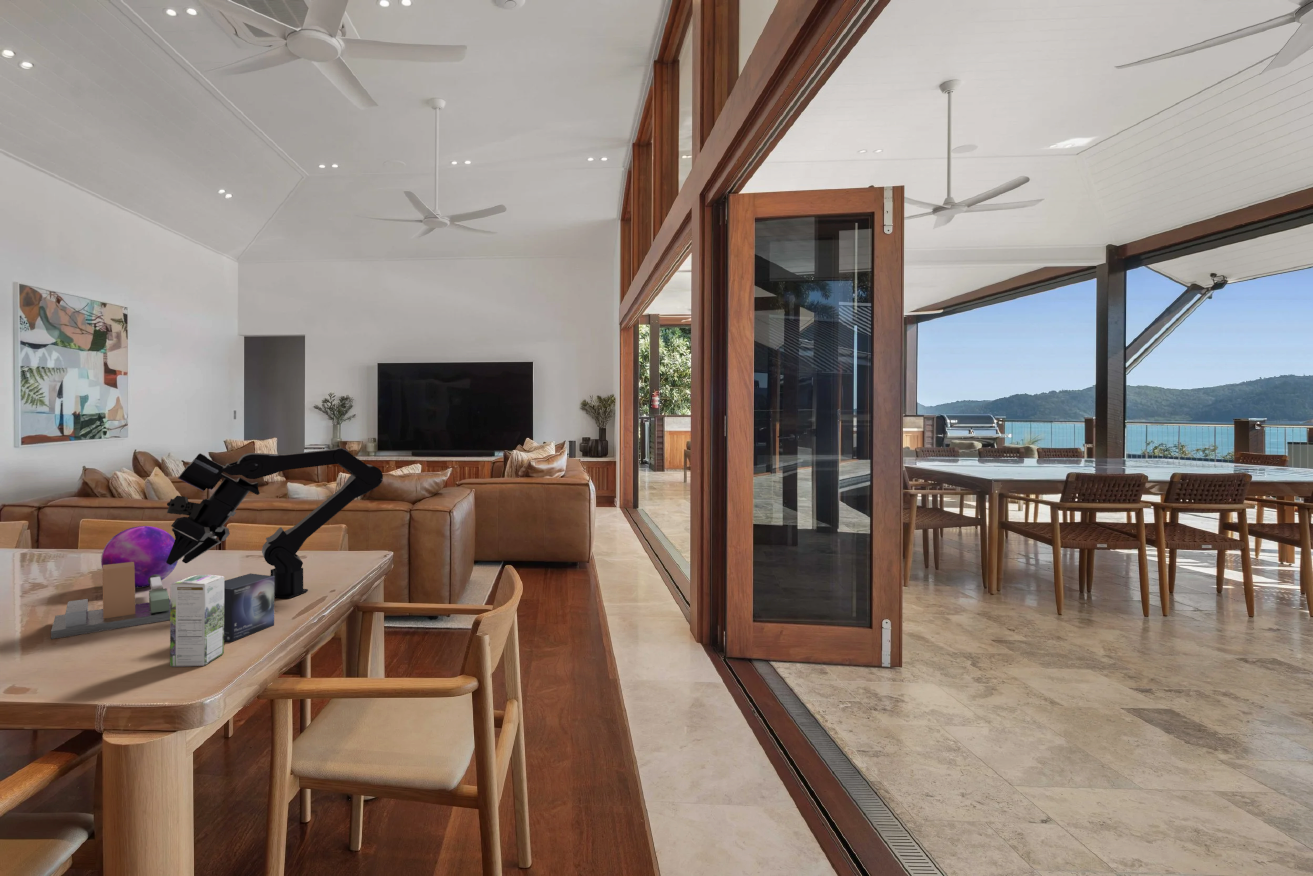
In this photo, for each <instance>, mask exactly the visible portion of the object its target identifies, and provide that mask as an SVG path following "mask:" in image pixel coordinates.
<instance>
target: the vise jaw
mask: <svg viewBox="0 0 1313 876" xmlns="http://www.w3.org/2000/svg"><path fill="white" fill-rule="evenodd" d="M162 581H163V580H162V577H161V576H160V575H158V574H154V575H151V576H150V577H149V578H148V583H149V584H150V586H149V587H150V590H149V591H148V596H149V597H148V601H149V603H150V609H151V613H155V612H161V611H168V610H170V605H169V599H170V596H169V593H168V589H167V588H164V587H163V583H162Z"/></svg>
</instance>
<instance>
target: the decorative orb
mask: <svg viewBox="0 0 1313 876" xmlns="http://www.w3.org/2000/svg"><path fill="white" fill-rule="evenodd" d="M174 541H175V537H173V535H171V534H170V533H169V532H167V531H166V530H164V529H162V528H159V527H156V526H149V525H139V526H138V525H137V526H134V527H133V526H132V527H130V528H127V529H124V530H122V531H120V532H118V533H117V534H115V535H114V536H112V538H111V539H110V540H108V541H107V543H106V545H105V547H103V549H102V553H101V556H100V557H101V558H100V559H101V560H100V563H101V567H102V568H103V565H108V564H118V563H127V562H134V566H135V589H136V588H145V587H151V586H150V584H149V583H148V578H149V577H150V576H151V575H154V574H158V575H160V576H161V577H162V581H163V580H164V579H166V578H168V576H169V575H171V573H172V572H173V571H174V570H175V568H176V566H177V565H178V561H179V560H178V561H176V562H175V563H174V564H172V565H169V564H167V563H166V561H167V559H168V556H169V554H170V552H171V549H172V547H173V544H174Z"/></svg>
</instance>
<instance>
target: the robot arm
mask: <svg viewBox="0 0 1313 876" xmlns="http://www.w3.org/2000/svg"><path fill="white" fill-rule="evenodd" d="M190 462H191V463H188V464H187V465H186V467H185V468H184V469H183V471H181V473H180V474H179V476H177V479H178V480H180V481H182V482H184V483H186V484H188V485H190V486H192V487H194V488H196V489H198V490H199V491H202V492H204V491H206V490H211V491H212V490H213V489H214V488H216V486H217V485H218V483H219V482H220V481H221V479H222V478H223V480H222V481H221V483H219V485H218V487H217V488H216V489H215V490H214V491H213V493H212V494H211V495H210V496H209V498H204V499H202V500H201V501H200V503H199V502H194V501H189V498H188V496H181V495H176V496H175V497H174V498H170V500H169V501H168V502H167V503H166V506H167V507H168V508H167V511H166V513H167V514H170V515H180V516H181V515H183V516H182V517H178V518H176V519H175V520H174V521H173V523H172V524H171V531H172V532H173V535H174V539H175V541H174V544H173V547H172V549H171V552H170V554H169V556H168V559H167V561H166V563H167V564H169V565H172V564H174V563H175V562H176V561H179V560H181V559H182V560H181V562H182V563H184V564H189V563H190V562H191V561H193V560H195V559H196V558H198V557H199V556H201V555H203V554H205V553H206V552H207V551H209V550H211V549H213V548H214V547H216V546H217V545H219V544H221V543H222V542H224V541H226V540H227V538H228V537H229V535H230V529H229V528H228V527H226V526H224V525H225V524H226V523H227V522H228V521H229V519H230V518H231V517H234V516H235V515H236V513H237V512H236V510H237V508H238V507H239V506H240V505H241V503H242V502H243V501H244V500H245V498H246V497H247V495H248V494H249V493H250V492H251V493H252V494H254V495H256V496H259V495H260V494H261V493H260V490H259V483H258V482H257V481H256V482H249V481H248V480H256V479H257V480H258V479H261V478H264V477H268V476H271V475H274V474H275V475H276V474H277V473H278V474H279V473H280V472H284V471H289V470H296V469H299V470H300V469H307V468H313V467H321V466H322V467H323V466H331V465H339V466H340V467H341V468H343V470H345V471H346V472H347V473H349V474H350V475H349V476H348V478H347V479H346V481H345V482H344V483H343V485H342V486H341V487H340V488H339V489H338V490H337V491H336V492H334V493H333V494H332V495H331V496H329V497H328V498H327V499H326V500H324V502H322V503H321V504H319V505H318V506H317V507H316V508H315V509H314V510H312V511H311V512H310V513H309V514H307V515H306V516H305V517H304V518H302V520H300V521H299V522H298V523H296V524H295V525H293V526H292V527H290V528H288V529H286V530H284V529H283V527H282V526H279V528H278V529H277V530H276V531H275V532H274V533H272V534H271V535H270V536H268V537H266V538H265V540H266V541H265V543H263V545H262V548H261V553H262V557H263V559H264V561H265V562H266V563H267V564H268V565H270V566H273V567H274V568H272V569H270V574H269V576H275V577H274V598H279V599H280V598H281V599H292V598H294V597H297V596H298V595H301V594H302V595H303V594H304V593H306V592H308V591H309V589H308V588H304V567H303V564H304V562H303V560H302V559H301V557H300V556H299V555H298V554H297V553H298V552H299V550H300V549H301V548H302V546H303V544H304V543H305V542H306V541H307V539H309V537H310V536H312V535H313V534H314V533H316V531H318V530H319V529H320V528H321V527H322V526H324V525H325V524H326V523H327V522H329V521H330V520H331V519H332V518H334V517H335V516H336V515H337V514H338V513H339V512H340V511H342V510H343V509H344V508H345V507H347V506H348V505H349V504H350V503H351V502H352V501H354V500H355V499H357V498H359V497H362V496H363V495H366V494H368V493H369V492H371V491H373V490H375V489H376V488H378V487H379V486H380V485H381V484H382V483H383V481H384V474H383V471H382V470H381V469H380V468H379V467H377V466H374V465H371V464H366V463H365V462H364V461H362V460H360V459H359V458H357V457H356V456H354V455H353V454H352V453H350V451H349V450H347V449H346V448H342V447H335V448H332V449H321V450H313V451H303V452H301V451H300V452H295V453H293V452H292V453H284V454H283V453H280V454H279V453H276V454H275V453H265V452H264V453H262V452H261V453H260V452H249V453H248V452H247V453H245V454H243V455H241V457H239V459H238V460H237V461H234V462H230V463H226V464H225V465H221V464H219V463H218V462H215V461H213V460H212V459H210V458H209V457H207V456H206V455H205V454H202V453H198V454H197V455H196V457H195V458H194V459H193V460H192V461H190ZM224 473H225V474H224ZM226 474H228V475H230V476H242V477H244V478H246V479H248V480H246V479H244V478H241V477H238V478H237V479H235V478H234V479H233V478H232V477H230V476H228V475H226ZM217 538H218V539H217Z"/></svg>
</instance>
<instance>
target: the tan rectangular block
mask: <svg viewBox="0 0 1313 876" xmlns="http://www.w3.org/2000/svg"><path fill="white" fill-rule="evenodd" d="M101 571H102V572H101V573H102V609H103V619H105V618H111V617H118V616H125V615H131V614H135V604H136V588H135V566H134V562H127V563H118V564H108V565H103V568H102V570H101Z"/></svg>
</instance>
